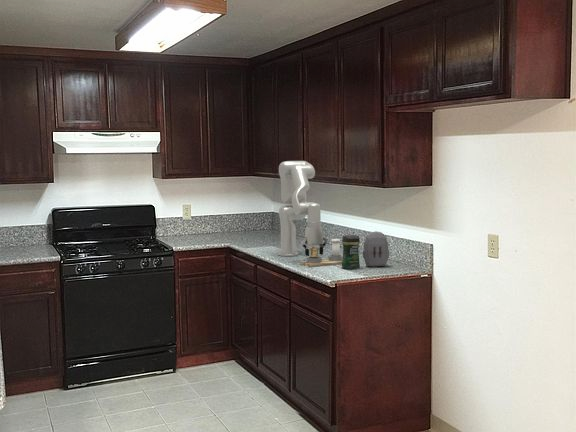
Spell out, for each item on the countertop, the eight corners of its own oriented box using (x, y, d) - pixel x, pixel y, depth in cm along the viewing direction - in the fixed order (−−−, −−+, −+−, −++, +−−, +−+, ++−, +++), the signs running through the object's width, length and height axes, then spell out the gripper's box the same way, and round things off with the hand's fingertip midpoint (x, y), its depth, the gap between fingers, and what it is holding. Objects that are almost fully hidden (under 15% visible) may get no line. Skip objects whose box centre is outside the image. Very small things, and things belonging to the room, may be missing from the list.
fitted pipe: (326, 259, 381) (326, 239, 380) (338, 258, 384) (338, 238, 383) (332, 261, 374) (332, 240, 372) (345, 260, 377) (345, 239, 376)
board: (299, 263, 378) (299, 261, 377) (336, 260, 387) (336, 257, 387) (310, 267, 365) (310, 264, 365) (347, 263, 374) (347, 261, 374)
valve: (308, 261, 375) (308, 246, 374) (316, 261, 377) (316, 246, 376) (312, 263, 369) (312, 248, 369) (320, 262, 371) (320, 247, 371)
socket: (305, 261, 375) (305, 257, 375) (317, 260, 379) (317, 256, 378) (311, 263, 368) (310, 259, 368) (323, 262, 371) (323, 258, 371)
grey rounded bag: (388, 265, 369) (388, 230, 367) (390, 267, 360) (390, 232, 359) (361, 265, 368) (361, 230, 366) (363, 268, 360) (363, 232, 358)
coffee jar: (346, 270, 355) (346, 236, 353) (340, 267, 362) (339, 234, 361) (361, 268, 358) (361, 235, 357) (355, 266, 366) (355, 233, 364)
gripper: (324, 223, 378) (324, 253, 380) (297, 225, 371) (297, 255, 373) (330, 224, 371) (330, 254, 373) (302, 226, 364) (303, 257, 366)
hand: (314, 254), depth 373 cm, fingers open, 8 cm apart
